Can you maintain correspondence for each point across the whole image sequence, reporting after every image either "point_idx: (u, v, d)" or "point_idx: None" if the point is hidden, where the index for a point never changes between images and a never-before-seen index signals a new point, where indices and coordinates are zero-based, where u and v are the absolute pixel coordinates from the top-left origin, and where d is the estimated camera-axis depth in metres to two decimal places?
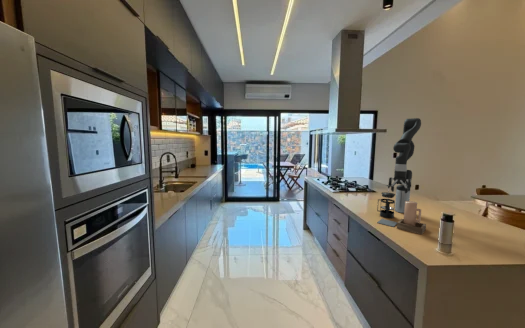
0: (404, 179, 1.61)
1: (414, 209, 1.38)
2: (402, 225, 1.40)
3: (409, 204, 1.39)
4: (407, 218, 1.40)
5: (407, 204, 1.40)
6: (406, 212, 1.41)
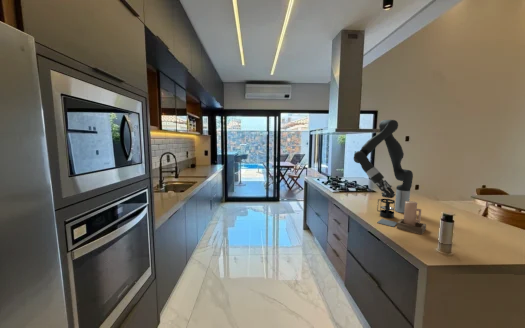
0: None
1: (414, 209, 1.38)
2: (402, 225, 1.40)
3: (409, 204, 1.39)
4: (407, 218, 1.40)
5: (407, 204, 1.40)
6: (406, 212, 1.41)
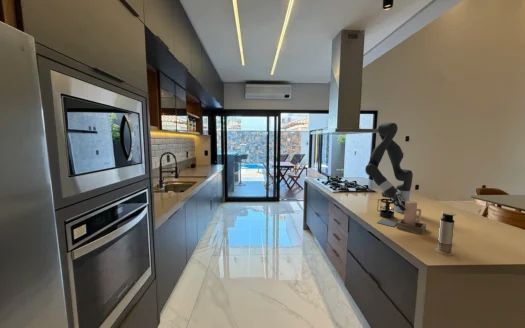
0: None
1: (414, 209, 1.38)
2: (402, 225, 1.40)
3: (409, 204, 1.39)
4: (407, 218, 1.40)
5: (407, 204, 1.40)
6: (406, 212, 1.41)
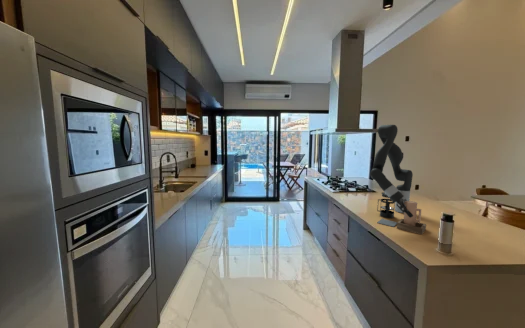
0: None
1: (414, 209, 1.38)
2: (402, 225, 1.40)
3: (409, 204, 1.39)
4: (407, 218, 1.40)
5: (407, 204, 1.40)
6: None
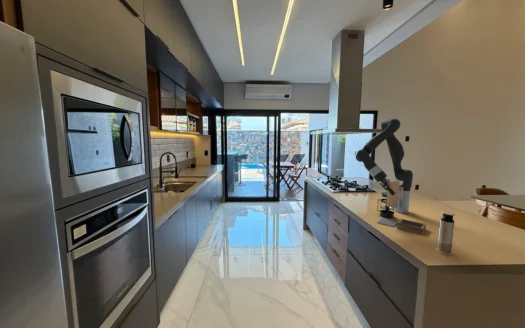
0: (381, 182, 1.49)
1: (396, 187, 1.44)
2: (402, 225, 1.40)
3: (392, 182, 1.45)
4: (390, 196, 1.46)
5: (390, 183, 1.46)
6: None
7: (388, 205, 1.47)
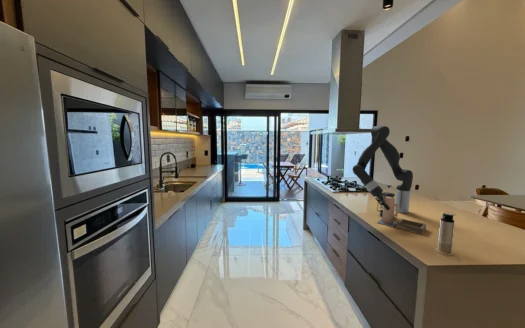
0: None
1: (392, 204, 1.47)
2: (402, 225, 1.40)
3: (387, 199, 1.47)
4: (386, 212, 1.49)
5: (385, 199, 1.48)
6: (384, 207, 1.49)
7: (384, 221, 1.50)
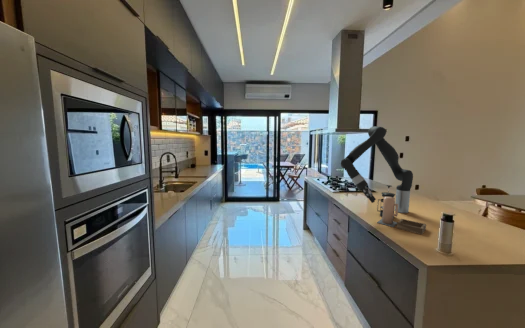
0: None
1: (391, 204, 1.47)
2: (402, 225, 1.40)
3: (387, 199, 1.48)
4: (385, 212, 1.49)
5: (385, 199, 1.49)
6: (384, 207, 1.49)
7: (384, 221, 1.50)
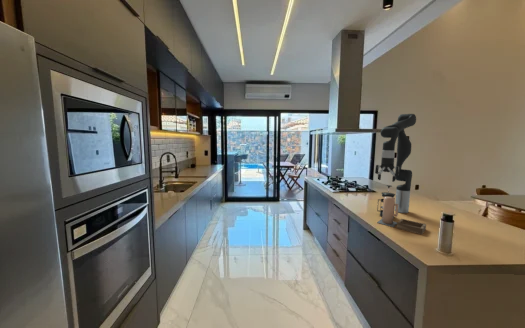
0: (392, 166, 1.49)
1: (392, 204, 1.47)
2: (402, 225, 1.40)
3: (387, 199, 1.48)
4: (385, 212, 1.49)
5: (385, 199, 1.49)
6: (384, 207, 1.49)
7: (384, 221, 1.50)
